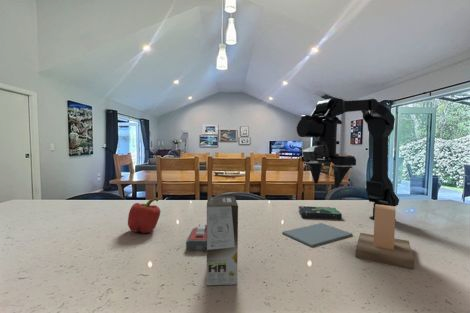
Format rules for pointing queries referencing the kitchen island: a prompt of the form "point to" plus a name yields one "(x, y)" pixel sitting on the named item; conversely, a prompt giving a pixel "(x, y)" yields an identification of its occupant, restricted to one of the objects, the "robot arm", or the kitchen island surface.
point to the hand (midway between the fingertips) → (325, 185)
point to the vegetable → (143, 216)
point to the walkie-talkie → (197, 239)
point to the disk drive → (319, 213)
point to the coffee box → (222, 240)
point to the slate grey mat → (316, 234)
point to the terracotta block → (384, 226)
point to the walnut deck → (385, 252)
